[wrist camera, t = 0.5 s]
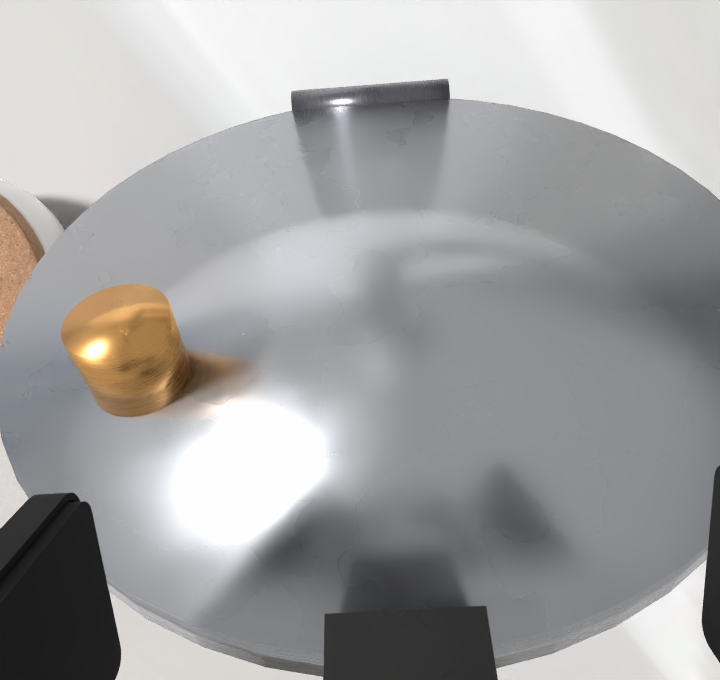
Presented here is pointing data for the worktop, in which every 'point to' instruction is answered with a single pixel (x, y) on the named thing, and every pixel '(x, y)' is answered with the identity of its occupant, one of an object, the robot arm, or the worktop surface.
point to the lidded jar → (21, 242)
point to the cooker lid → (382, 383)
